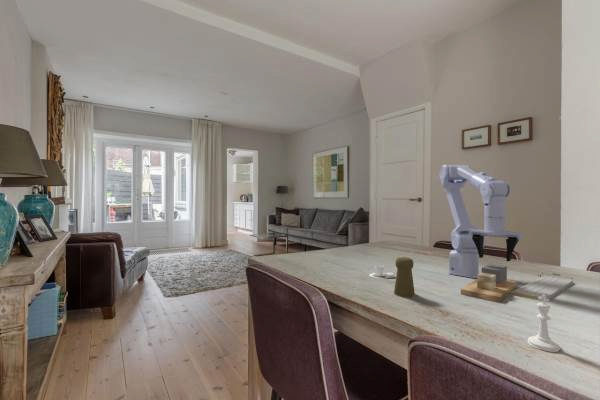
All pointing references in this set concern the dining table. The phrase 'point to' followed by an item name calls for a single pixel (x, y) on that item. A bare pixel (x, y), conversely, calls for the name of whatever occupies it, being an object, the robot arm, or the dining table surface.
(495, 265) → the block
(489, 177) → the robot arm
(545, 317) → the chess piece
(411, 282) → the cork
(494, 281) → the beige cube
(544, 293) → the baseboard
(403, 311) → the dining table surface
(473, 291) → the board
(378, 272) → the teacup and saucer
